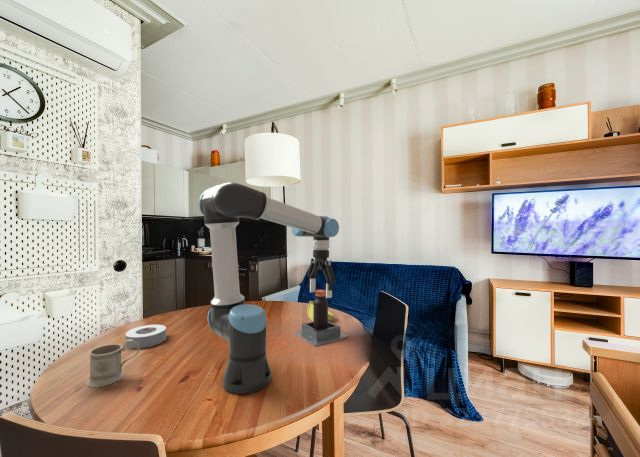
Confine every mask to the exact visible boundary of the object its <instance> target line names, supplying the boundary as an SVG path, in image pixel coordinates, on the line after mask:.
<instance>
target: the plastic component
mask: <svg viewBox="0 0 640 457" xmlns="http://www.w3.org/2000/svg"><path fill="white" fill-rule="evenodd" d="M313 304H314V300H310V301H309V303H308V306H307V311H306V312H307V316H308V318H309V320H311V322H313ZM334 318H335V315H334V314H333V313H332V312H331V311H330V310H328V321H329V322H332V321H334Z"/></svg>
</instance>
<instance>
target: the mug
mask: <svg viewBox="0 0 640 457" xmlns="http://www.w3.org/2000/svg"><path fill="white" fill-rule="evenodd" d="M126 341H127V342H126V343H125V342H124V343H123V345H122V344H118V343H114V344H113V343H111V344H106V345H102V346H97V347H96V348H94V349H93V348H92V350H91V351H89V358H90V362H89V364H90V366H89V369H90V370H89V379H88V380H87V381H86V383H85V384H87V385H86V387H88V386H90V387H89V388H100V386H102V387H106V386H110V385H112V383H113V384H114V383H117V382H119V381H120V380H122V379H124V377H125V372H123V370H122V369H123V366H124V365H125V363H126V362H128V361H129V360H131V359H133V358H136V356H137V355H138V354H139V353H140V350H141V348H140V347H139V344H138V343H137V342H135V341H133V339H128V340H126ZM130 342H132V343H135V344H137V346H138V349H137V351H136V353H135V354H133V356H130V357H128V358H126V359H125V360H123V361H122V352H125V351H126V349H127V347H126V346H125V345H126V344H127V343H130ZM116 381H117V382H116ZM109 384H110V385H109ZM105 385H106V386H105Z"/></svg>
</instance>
